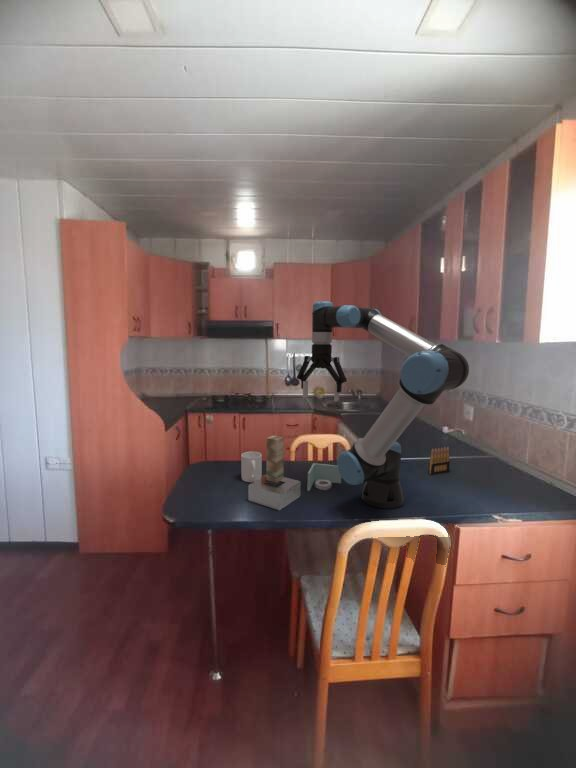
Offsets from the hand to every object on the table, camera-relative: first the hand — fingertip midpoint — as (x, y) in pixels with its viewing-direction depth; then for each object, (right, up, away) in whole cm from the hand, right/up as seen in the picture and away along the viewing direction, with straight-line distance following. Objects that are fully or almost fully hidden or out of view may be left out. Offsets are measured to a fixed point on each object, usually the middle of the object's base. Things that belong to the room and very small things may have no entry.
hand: (320, 399), depth 141 cm
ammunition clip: (+56, -35, +25) cm, 70 cm away
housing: (-18, -37, -3) cm, 41 cm away
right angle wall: (+2, -37, +9) cm, 38 cm away
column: (-17, -30, -4) cm, 35 cm away
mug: (-28, -35, +14) cm, 47 cm away
